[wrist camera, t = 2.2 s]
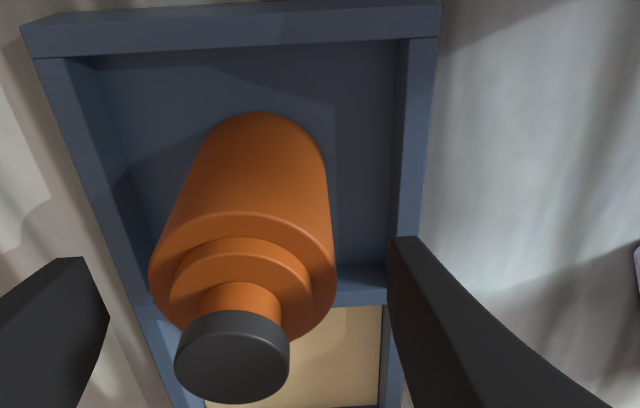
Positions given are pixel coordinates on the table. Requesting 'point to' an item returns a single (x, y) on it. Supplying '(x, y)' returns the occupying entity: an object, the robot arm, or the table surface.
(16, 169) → the table surface
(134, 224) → the tray
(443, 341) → the robot arm
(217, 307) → the bottle
